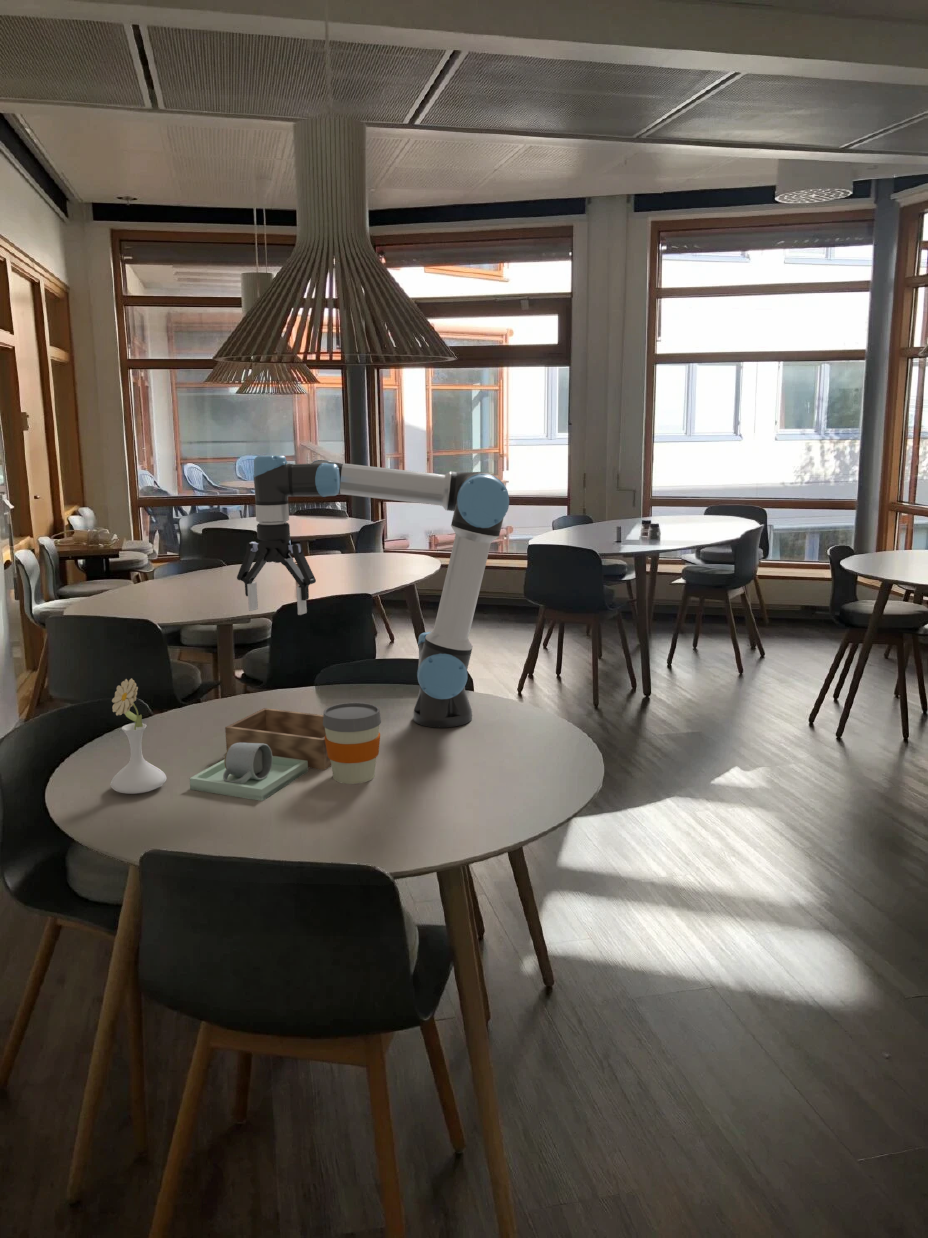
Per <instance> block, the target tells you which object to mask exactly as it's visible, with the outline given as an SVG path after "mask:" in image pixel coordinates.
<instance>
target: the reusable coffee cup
mask: <svg viewBox="0 0 928 1238" xmlns="http://www.w3.org/2000/svg"><path fill="white" fill-rule="evenodd" d="M322 715H323V726H324V727H325V732H326V735H325V743H326V749H327V755H328V758H329V759H330V761H331V766H330V767H331V771H332V776H333V777H332V778H333V780H334V781H335V782H338V783H340V784H346V785H357V784H365V783H367V782H370V781H372V780H373V779H374V777H375V773H376V763H377V757H378V756H379V751H380V743H381V742H380V741H381V733H380V725H381V724H382V719H381V718H382V717H381V711H380V708H379V707H378V706H377V705H376V704H375V705H374V704H372V703H368V702H344V703H338V704H333V705H331V706H328V707H326V708H325V709H324V710H323V714H322Z"/></svg>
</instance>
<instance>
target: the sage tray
mask: <svg viewBox="0 0 928 1238" xmlns="http://www.w3.org/2000/svg"><path fill="white" fill-rule="evenodd" d="M225 770H226V768H225V763H224V759H222V760H221V761H219V762H217V763H214V764H213V765H212V766H210V767H207V768H206V769H204V770H201V771H200V772H198V773H196V774H195V775H192V776H191V777H190V778H189V788H190V790H191V791H192V790H193V791H199V792H204V793H212V794H217V795H223V796H229V797H236V798H241V799H248V800H254V801H259V802H263V801H265V800H266V799H267V798H270V796H272V795H274V794H275V793H276V792H279V791H280V790H283V788H285V787H286V786H288V785H290V784H291V783H292V782H294V781H295V780H297V779H299V778H301V777H302V776H303V775H305V774H306V773H308V772H309V768H308V761H306V760H299V759H292V758H284V757H277V756H272V767H271V770H270V772H269V774H268V775H267V777H266V778H264V779H262V780H256V779H249V780H248V781H246V782H245V783H244V784H237V783H230V782H225V781H224V779H223V774H224V772H225ZM240 778H241V777H238V776H234V775H231V774H229V776H228V777H227V780H229V781H235V780H238V779H240Z"/></svg>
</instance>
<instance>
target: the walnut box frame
mask: <svg viewBox="0 0 928 1238" xmlns="http://www.w3.org/2000/svg"><path fill="white" fill-rule="evenodd" d="M224 732H225V744H226V745H225V746H226V750H227V749H228V748H229V747H230V746H231V745H232V744H235V743H264V744H267V745H268V746H269V747H270V749H271V752H272V756H277V757H284V758H292V759H299V760H306V761H308V769H313V770H314V769H315V770H320V771H325V770H327V769H328V768H330V767H332V766H331V761H330V759H329V758H328V755H327V749H326V743H325V735H326V732H325V727H324V726H323V714H317V713H310V712H309V713H307V712H300V711H292V710H283V709H276V708H275V709H274V708H267V707H264V708H262V709H261V708H260V710H257V711H255V712H254V713H252V714H250V715H247V716H245V717H243V718H241V719H239V720H237V721H235V722H233V723H231V724H229V725H227V726H225V728H224Z"/></svg>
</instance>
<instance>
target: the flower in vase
mask: <svg viewBox="0 0 928 1238" xmlns="http://www.w3.org/2000/svg"><path fill="white" fill-rule="evenodd" d="M138 689H139V686H137V683H136V682H135V680H134V679H133V678H130V679H129V680H128V679H127V678H125V679H124V680H123V681H121V682H120V685H117V686H116V691H115V692H114V697H113V698H112V699H111V702H112V703H113V705H112V712H113V713H115V715H116V716H121V715H122V714H124V715H125V717H126V718H127V719H129V720H131V721H132V722H135V723H129V724H125V725H123V726H121V730H122V731H123V733H125V735H126V736H127V739H128V742H129V749H130V759H129V761H128V763H127V764H126V765H125V766H123V767H122V768H121V769H120V770H119V771H118V772H117V773H116V774H115V775H114V776H113V777H112V779H111V780H110V781H111V782H110V787H111V789H113V790H114V792H115V791H116V792H117V793H122V794H129V795H130V794H131V795H132V794H135V795H136V794H144V793H148V792H152V791H153V790H156V789H159V788H161V787H162V786H163V785H164V784H165V783H166V781H167V779H168V778H167V775H166V773H165V772H164V771H163V770H161V769H160V768H159V767H157V766H155V765H153V764H152V763H150V762H149V761H147V760H146V759H145V758H144V756H143V751H142V739H143V735H144V734H143V733H144V731H145V730H146V728H147V724H146V723H143V719H142V718H143V715H142V714H140V715H139V711H138V708H137V706H136V705H135V703H134V702H135V701H137V696H138V691H139V690H138ZM131 707H133V709H135V712H136V714H135V713H133V712H132V711H130V709H131Z"/></svg>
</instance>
